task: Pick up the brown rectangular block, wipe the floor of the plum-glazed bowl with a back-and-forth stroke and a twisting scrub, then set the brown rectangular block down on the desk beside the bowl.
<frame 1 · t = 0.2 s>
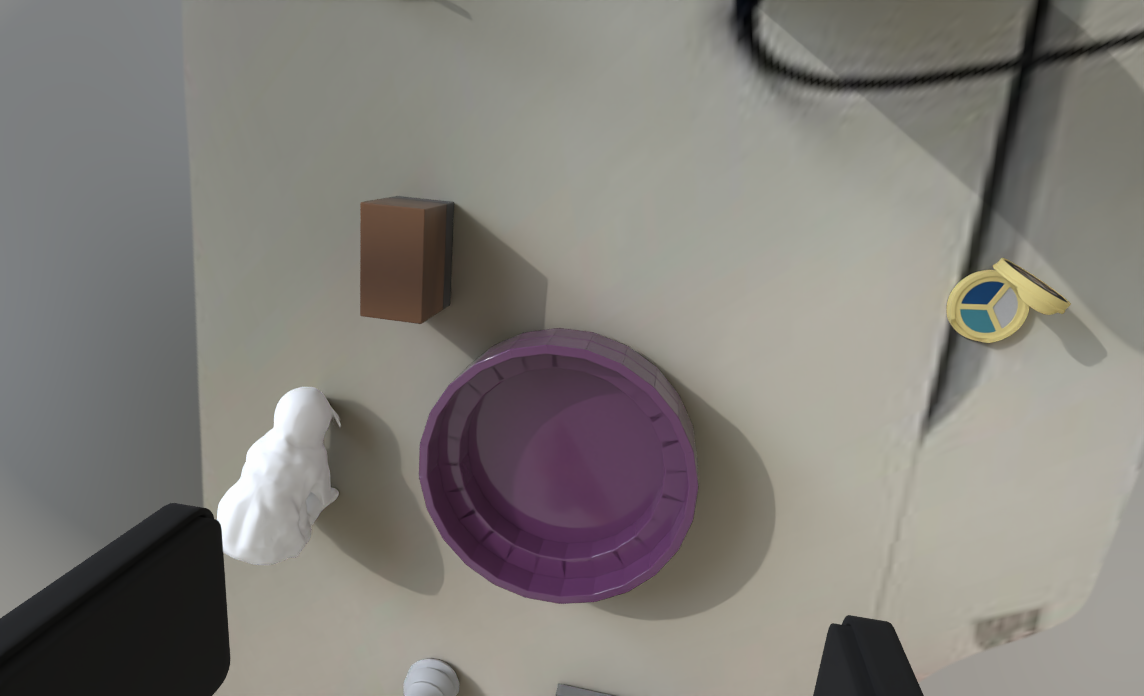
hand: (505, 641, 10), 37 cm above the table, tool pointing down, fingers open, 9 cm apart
white lumpy piece: (313, 445, 53), on the table
rook chess piece: (436, 675, 57), on the table
eyeshadow: (987, 300, 43), on the table
brown rectangular block: (423, 251, 47), on the table
bowl: (566, 449, 50), on the table
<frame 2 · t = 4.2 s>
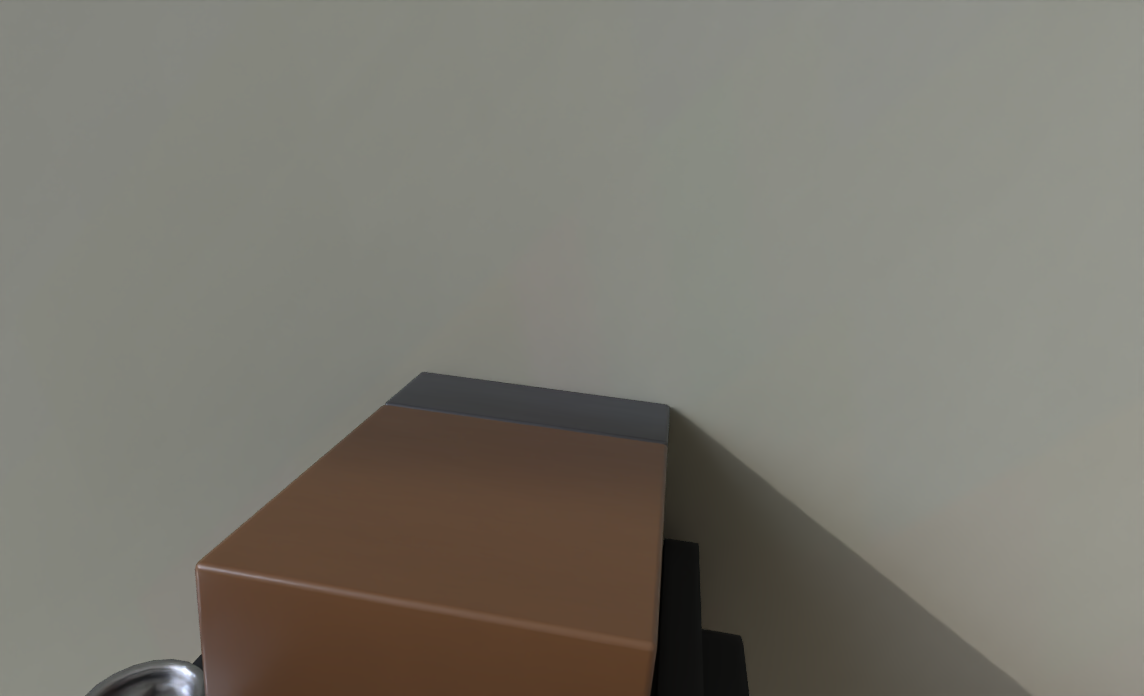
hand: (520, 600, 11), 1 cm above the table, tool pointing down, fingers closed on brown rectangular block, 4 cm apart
brown rectangular block: (528, 578, 12), on the table, touching gripper
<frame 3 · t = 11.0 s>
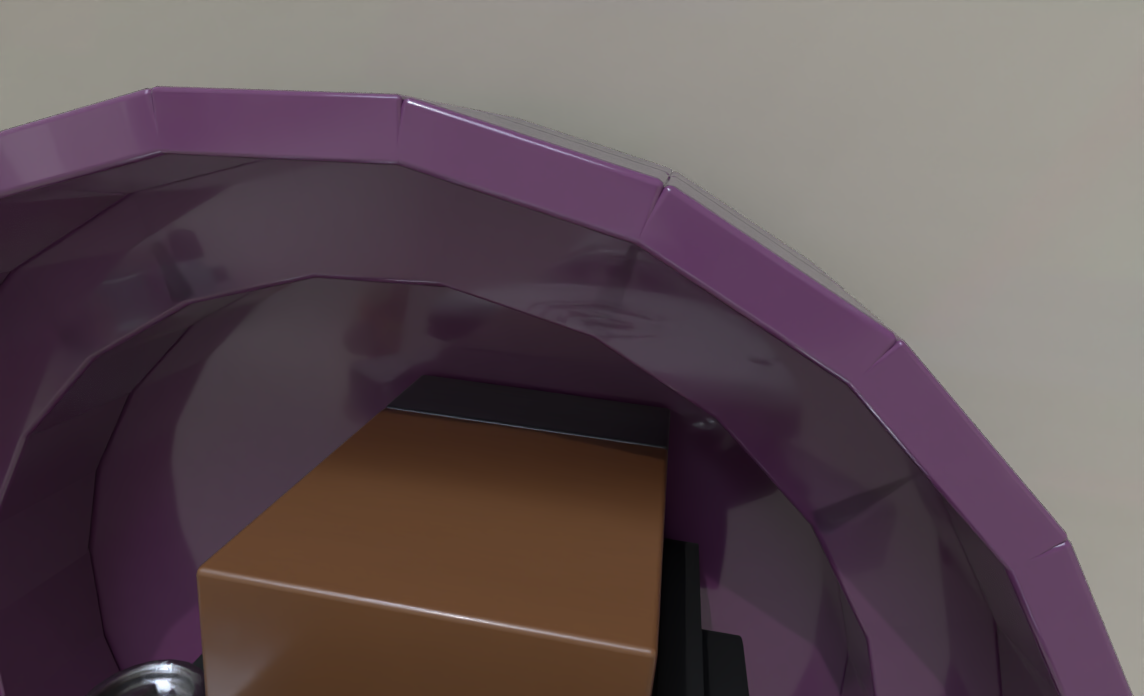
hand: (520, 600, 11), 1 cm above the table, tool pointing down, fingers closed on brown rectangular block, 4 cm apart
brown rectangular block: (528, 580, 12), point 1 cm above the table, touching gripper
bowl: (455, 612, 13), on the table
when the fingers open (0 cm above the table, at t = 17.7 s): brown rectangular block stays where it is, on the table.
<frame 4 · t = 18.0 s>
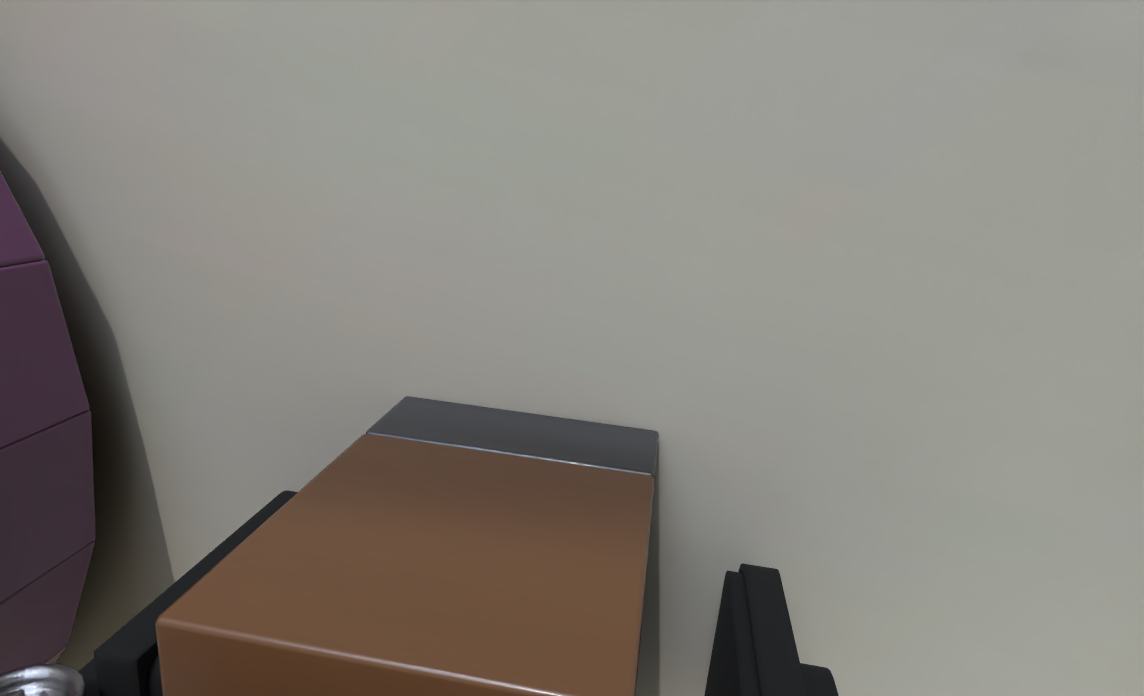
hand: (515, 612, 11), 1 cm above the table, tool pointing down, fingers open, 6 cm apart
brown rectangular block: (515, 604, 12), on the table
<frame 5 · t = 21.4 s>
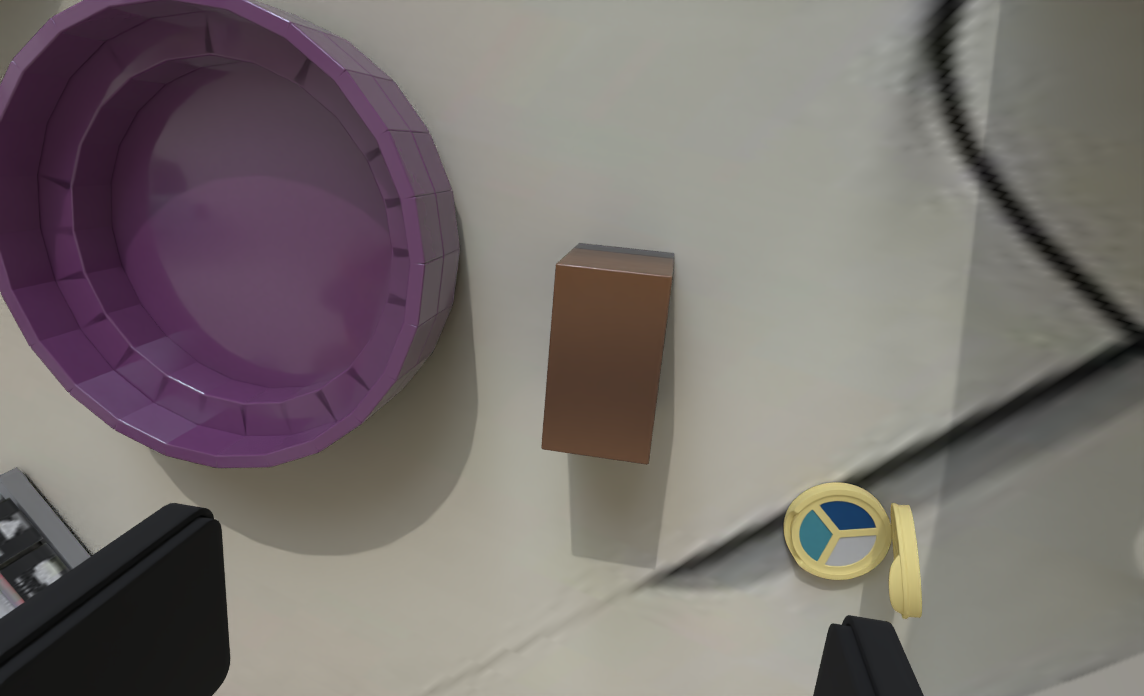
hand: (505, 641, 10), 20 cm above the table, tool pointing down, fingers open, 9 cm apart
upright grey slab: (76, 585, 39), on the table
eyeshadow: (841, 524, 31), on the table
brown rectangular block: (617, 329, 30), on the table
bowl: (267, 233, 31), on the table
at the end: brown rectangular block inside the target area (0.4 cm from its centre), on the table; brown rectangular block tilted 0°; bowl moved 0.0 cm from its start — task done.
